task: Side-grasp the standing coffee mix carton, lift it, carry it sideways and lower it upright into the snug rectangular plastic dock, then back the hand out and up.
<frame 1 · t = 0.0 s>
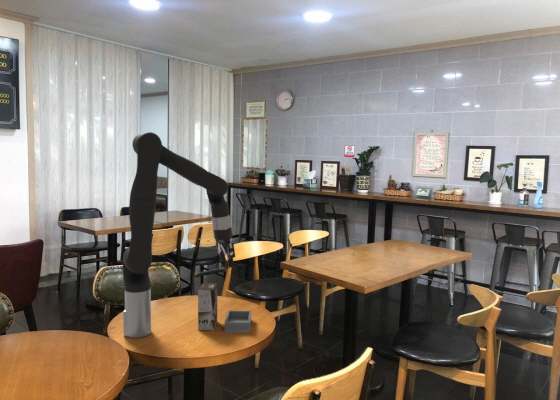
hand: (227, 264, 181), 22 cm above the table, tool pointing down, fingers open, 8 cm apart
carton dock: (238, 326, 174), on the table
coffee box: (208, 326, 174), on the table
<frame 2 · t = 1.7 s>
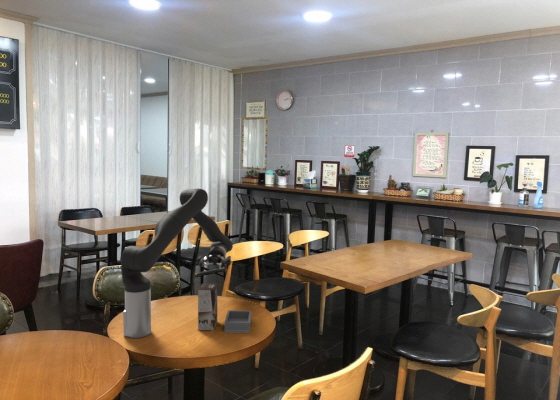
hand: (211, 264, 182), 22 cm above the table, tool horizontal, fingers open, 8 cm apart
nothing on the table moved.
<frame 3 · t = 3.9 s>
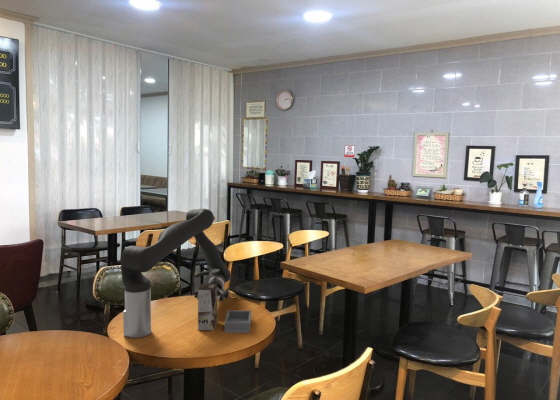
hand: (209, 298, 179), 9 cm above the table, tool horizontal, fingers open, 8 cm apart
nothing on the table moved.
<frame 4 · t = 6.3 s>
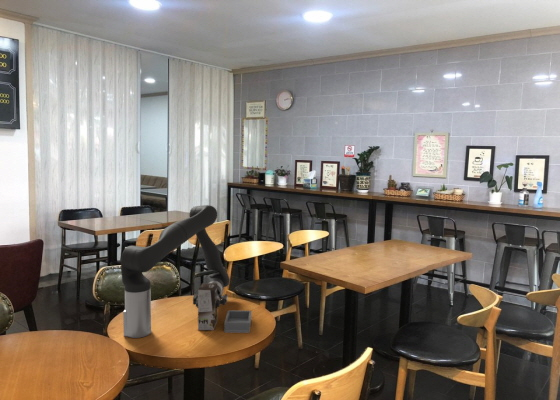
hand: (207, 305, 171), 9 cm above the table, tool horizontal, fingers closed on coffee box, 6 cm apart
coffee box: (208, 326, 174), on the table, touching gripper
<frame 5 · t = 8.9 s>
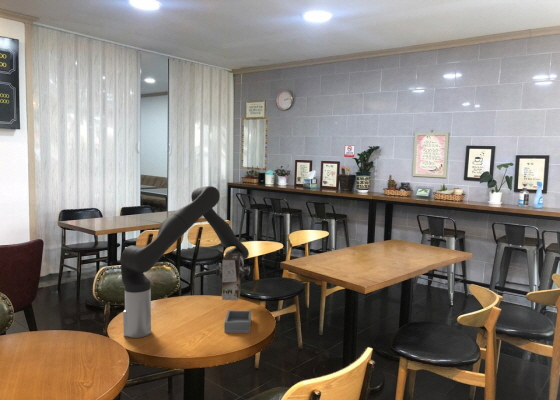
hand: (231, 276, 170), 21 cm above the table, tool horizontal, fingers closed on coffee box, 6 cm apart
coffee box: (231, 297, 174), point 12 cm above the table, touching gripper
when the fingers open (11 cm above the table, at t = 12.0 s): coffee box drops 1 cm, resting on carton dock.
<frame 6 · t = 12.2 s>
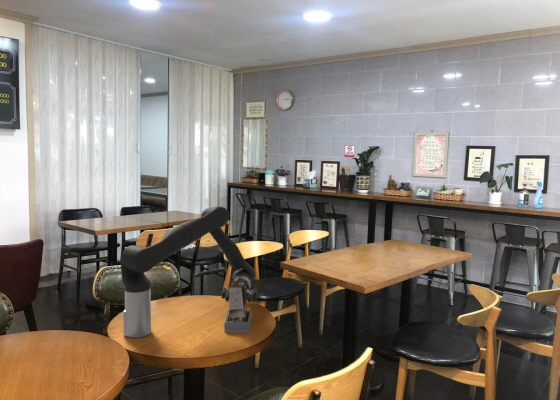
hand: (238, 299, 171), 11 cm above the table, tool horizontal, fingers open, 8 cm apart
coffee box: (238, 323, 174), point 1 cm above the table, touching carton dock
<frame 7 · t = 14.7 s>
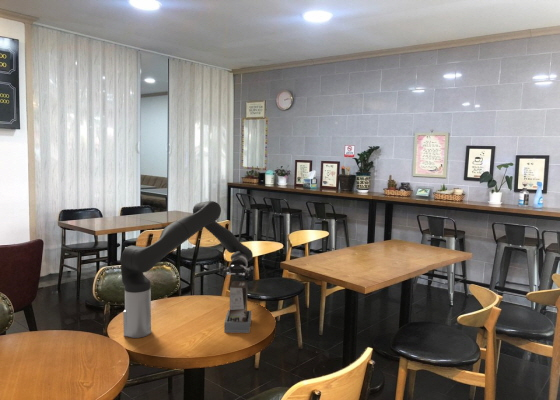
hand: (235, 274, 180), 18 cm above the table, tool horizontal, fingers open, 8 cm apart
nothing on the table moved.
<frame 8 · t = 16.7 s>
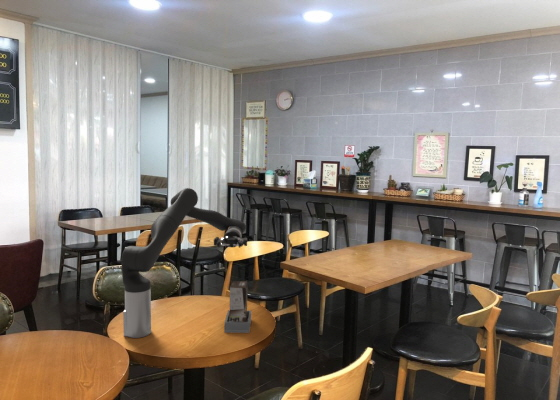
hand: (229, 245, 183), 30 cm above the table, tool horizontal, fingers open, 8 cm apart
nothing on the table moved.
at the end: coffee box 0.2 cm off-centre on the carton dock, point 0.8 cm above the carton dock's base; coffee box tilted 0°; the gripper is holding nothing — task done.
